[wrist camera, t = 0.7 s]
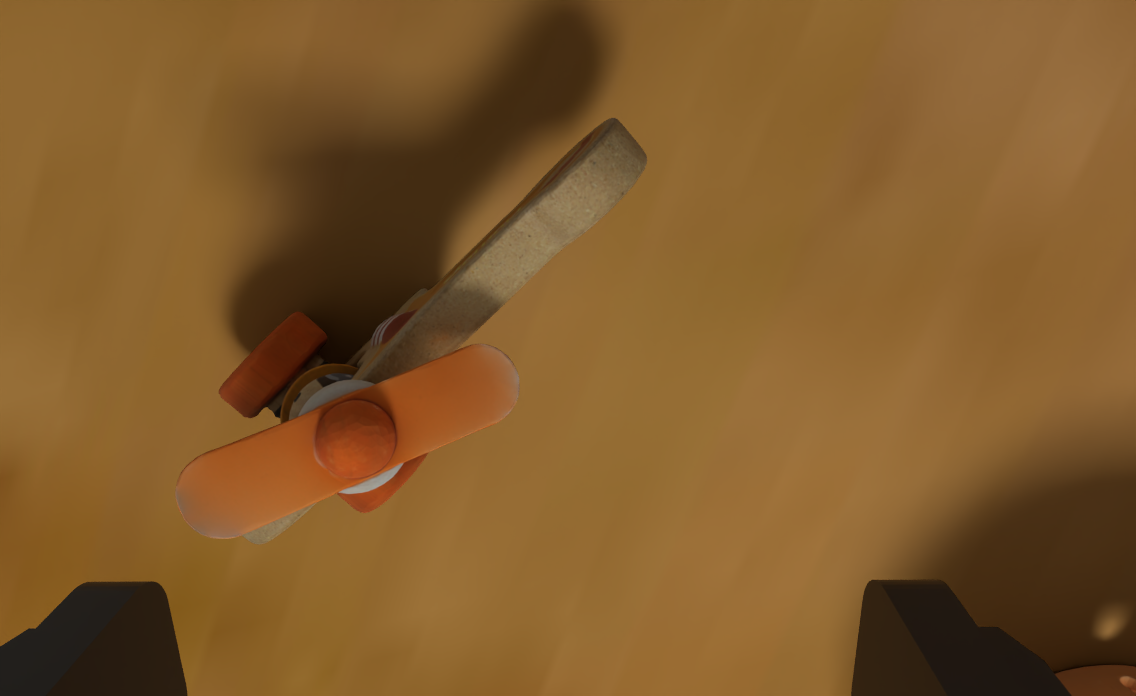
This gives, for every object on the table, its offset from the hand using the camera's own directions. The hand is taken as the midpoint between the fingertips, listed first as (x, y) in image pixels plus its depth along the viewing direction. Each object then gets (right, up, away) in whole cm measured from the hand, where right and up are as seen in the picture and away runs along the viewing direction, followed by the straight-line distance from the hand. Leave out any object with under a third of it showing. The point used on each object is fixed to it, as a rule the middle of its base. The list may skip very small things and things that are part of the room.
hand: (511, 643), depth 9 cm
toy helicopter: (-5, +5, +27) cm, 28 cm away
